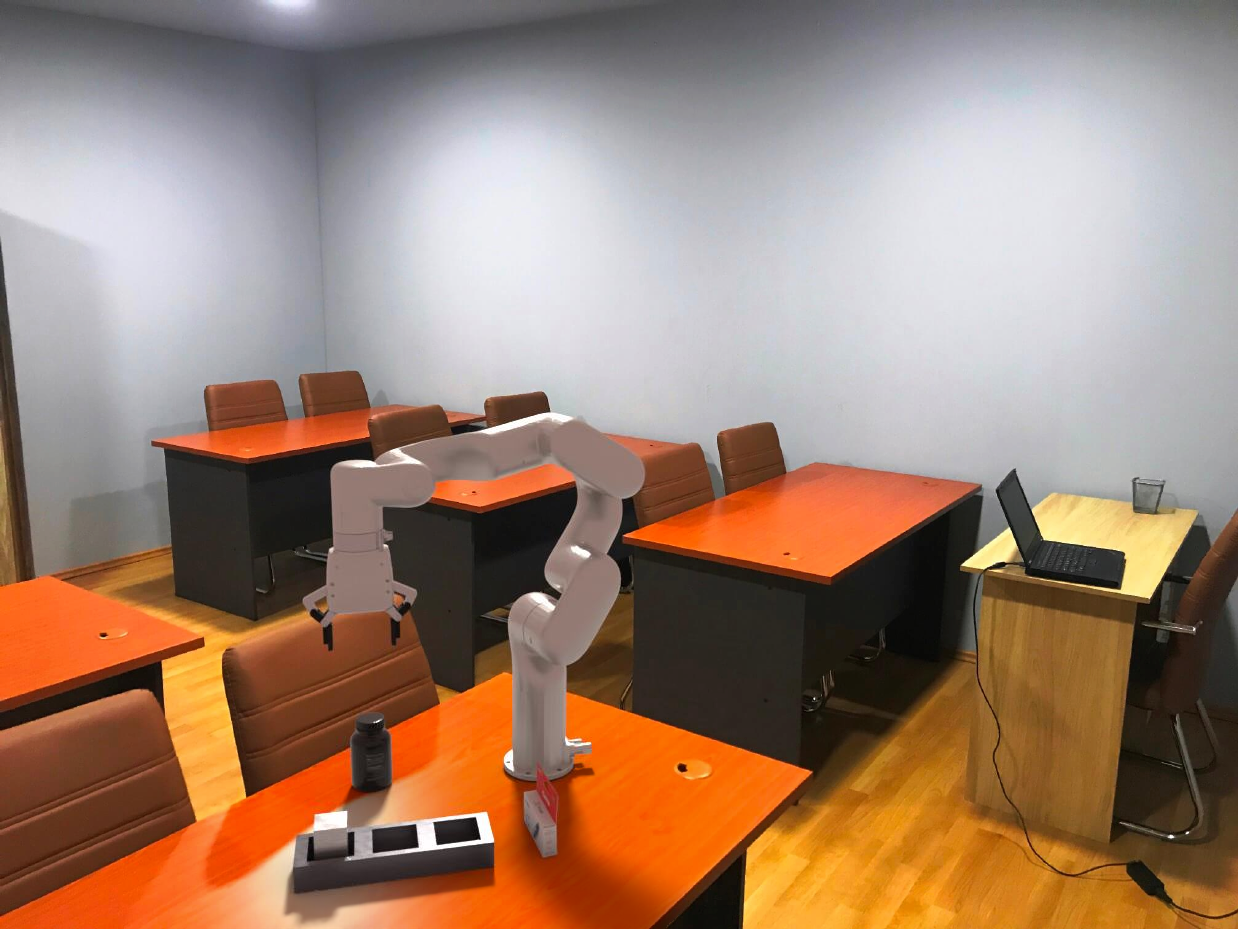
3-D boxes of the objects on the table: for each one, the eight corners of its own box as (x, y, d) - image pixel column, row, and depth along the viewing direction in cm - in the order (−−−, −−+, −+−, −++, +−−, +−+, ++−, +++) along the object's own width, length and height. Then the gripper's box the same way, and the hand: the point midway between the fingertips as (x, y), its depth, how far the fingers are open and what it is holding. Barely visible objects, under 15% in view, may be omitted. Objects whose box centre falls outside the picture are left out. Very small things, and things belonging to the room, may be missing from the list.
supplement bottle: (398, 775, 167) (396, 710, 165) (384, 794, 160) (383, 727, 158) (360, 772, 168) (358, 708, 166) (345, 792, 161) (343, 725, 159)
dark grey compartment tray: (486, 835, 149) (486, 812, 148) (494, 867, 141) (494, 842, 140) (297, 859, 141) (296, 834, 141) (293, 894, 133) (292, 867, 133)
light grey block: (348, 860, 141) (347, 811, 140) (348, 878, 137) (346, 827, 136) (316, 864, 140) (315, 814, 139) (315, 882, 136) (313, 831, 135)
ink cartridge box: (542, 859, 143) (543, 798, 141) (522, 821, 153) (523, 764, 152) (558, 855, 144) (559, 795, 142) (537, 818, 154) (538, 762, 152)
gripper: (413, 531, 154) (416, 632, 157) (300, 537, 149) (306, 642, 152) (417, 543, 147) (419, 649, 150) (298, 550, 142) (304, 659, 145)
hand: (362, 645), depth 151 cm, fingers open, 9 cm apart
